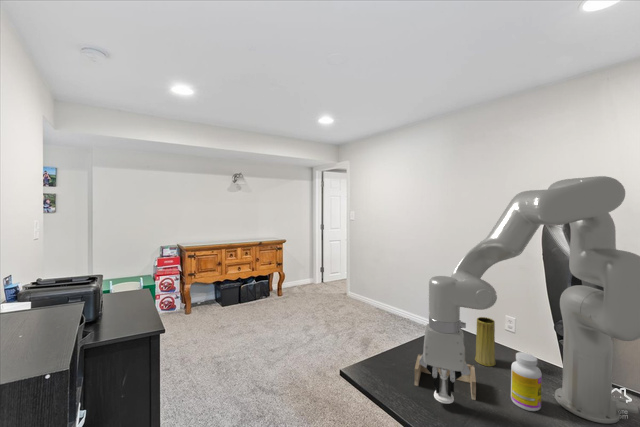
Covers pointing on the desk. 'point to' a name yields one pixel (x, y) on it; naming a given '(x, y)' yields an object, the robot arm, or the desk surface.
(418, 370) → the open-side wooden frame
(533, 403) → the supplement bottle
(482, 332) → the vase
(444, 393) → the chess piece
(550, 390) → the desk surface
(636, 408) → the robot arm
